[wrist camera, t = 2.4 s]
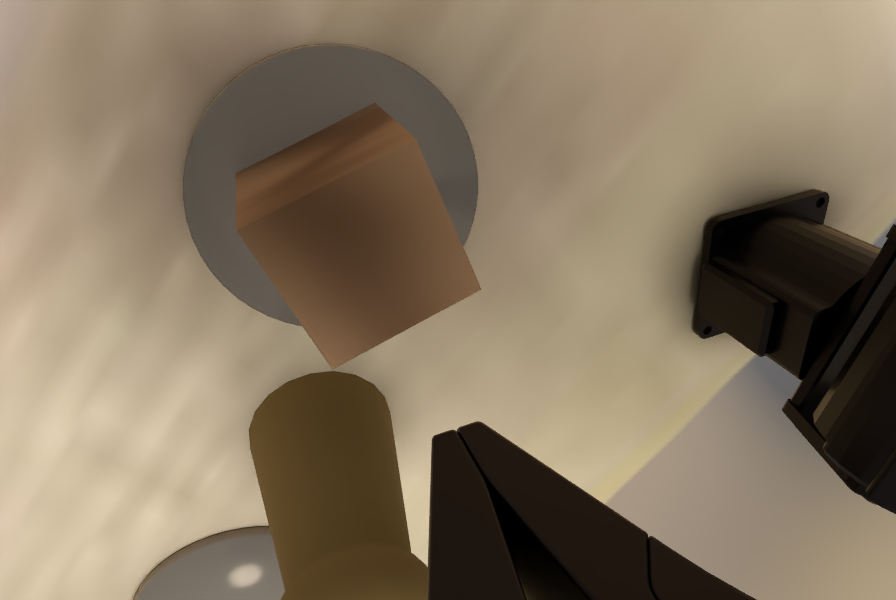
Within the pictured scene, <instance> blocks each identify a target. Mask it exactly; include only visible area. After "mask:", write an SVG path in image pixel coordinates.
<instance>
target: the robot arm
mask: <svg viewBox="0 0 896 600" xmlns="http://www.w3.org/2000/svg"><path fill="white" fill-rule="evenodd" d="M828 202H829V195H828V193H826V192H823V191H821V190H813V191H810V192H806V193H802V194H799V195H795V196H791V197H788V198H784V199H780V200H777V201H773V202H769V203H766V204H762V205H758V206H755V207H751V208H748V209H744V210H740V211H737V212H733V213H729V214H726V215H722V216H718V217H715V218H713V219H712V220H711V221H710V222H709V223H708V225H707V228H706V233H705V241H704V250H703V258H702V266H701V274H700V282H699V291H698V299H697V307H696V315H695V323H694V332H695V334H696V335H698V336H699V337H700V338H703V339H705V338H709V337H712V336H715V335H718V334H721V333H725V332H726V333H727V334H729V335H730V336H732V337H733V338H734V339H736V340H737V341H739V342H740V343H741V344H743V345H744V346H746V347H747V348H748V349H750V350H751V351H753V352H754V353H755V354H757V355H758V356H760V357H762V356H767V357H769V358H770V359H772V360H773V361H775V362H776V363H777V364H779V365H780V366H782V367H783V368H785V369H786V370H787V371H789V372H790V373H792V374H793V375H795V376H796V377H797V378H798V379H800V380H802V381H801V383H800V385H799V386H798V388H797V390H796V391H795V393H794V395H793V396H792V398H791V399H788V400H787V401H786V403H785V405H784V406H783V408H782V411H783V412H784V413H785V414H786V416H787V417H788V418H789V419H790V420H791V421H792V423H793V424H794V425H795V426H796V428H797V429H798V430H799V431H800V432H801V433H802V435H803V436H804V437H805V438H806V439H807V440H808V442H809V443H810V444H811V445H812V446H813V447H814V448H815V450H816V451H817V452H818V453H819V454H820V455H821V456H822V457H823V459H824V460H825V461H826V462H827V463H828V464H829V465H830V467H831V468H832V469H833V470H834V471H835V472H836V473H837V475H838V476H839V477H840V478H841V479H842V480H843V481H844V483H845V484H846V485H847V486H848V487H849V488H850V489H851V490H852V491H854V492H855V493H857V494H859V495H861V496H863V497H864V498H865V499H866V500H867V501H869V502H871V503H873V504H876V505H879V506H881V507H882V508H885V509H887V510H889V511H891V512H893V513H895V514H896V224H893V226H892V227H891V229H890V231H889V232H888V234H887V236H886V237H887V238H888V239H887V241H886V242H885V244H884V246H883V247H882V249H881V248H879V247H876V246H874V245H872V244H869V243H867V242H864V241H862V240H860V239H857V238H855V237H852V236H850V235H848V234H845V233H843V232H840V231H838V230H836V229H833V228H831V227H828V226H826V225H824V224H823V223H824V219H825V215H826V211H827V206H828ZM718 228H719V229H718ZM717 229H718V230H717ZM427 600H756V599H754V598H753V597H751V596H749V595H747V594H745V593H743V592H742V591H740V590H738V589H736V588H735V587H733V586H731V585H729V584H727V583H726V582H724V581H722V580H721V579H719V578H717V577H715V576H714V575H712V574H710V573H708V572H707V571H705V570H703V569H702V568H700V567H699V566H697V565H696V564H694V563H692V562H691V561H689V560H688V559H686V558H685V557H683V556H681V555H680V554H678V553H677V552H675V551H673V550H672V549H671V548H669V547H668V546H666V545H665V544H663V543H662V542H660V541H659V540H657V539H656V538H654V537H653V536H650V537H648V534H647V533H646V532H645V531H643V530H642V529H640V528H639V527H637V526H636V525H634V524H633V523H631V522H630V521H628V520H627V519H626V518H624V517H623V516H621V515H620V514H618V513H617V512H615V511H614V510H612V509H611V508H609V507H608V506H606V505H605V504H603V503H602V502H600V501H599V500H597V499H596V498H594V497H593V496H591V495H590V494H588V493H587V492H585V491H584V490H582V489H581V488H579V487H578V486H576V485H575V484H573V483H572V482H570V481H569V480H567V479H566V478H564V477H563V476H561V475H560V474H558V473H557V472H555V471H554V470H552V469H551V468H549V467H548V466H546V465H545V464H543V463H542V462H540V461H539V460H537V459H536V458H534V457H533V456H531V455H530V454H528V453H527V452H525V451H524V450H523V449H521V448H520V447H518V446H517V445H515V444H514V443H512V442H511V441H509V440H508V439H506V438H505V437H503V436H502V435H500V434H499V433H497V432H496V431H494V430H493V429H491V428H490V427H488V426H487V425H485V424H484V423H482V422H478V421H477V422H474V423H471V424H468V425H464V426H461V427H459V428H458V429H457V431H455V430H449V431H446V432H443V433H440V434H437V435H435V436H433V438H432V453H431V485H430V516H429V548H428V579H427Z"/></svg>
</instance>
